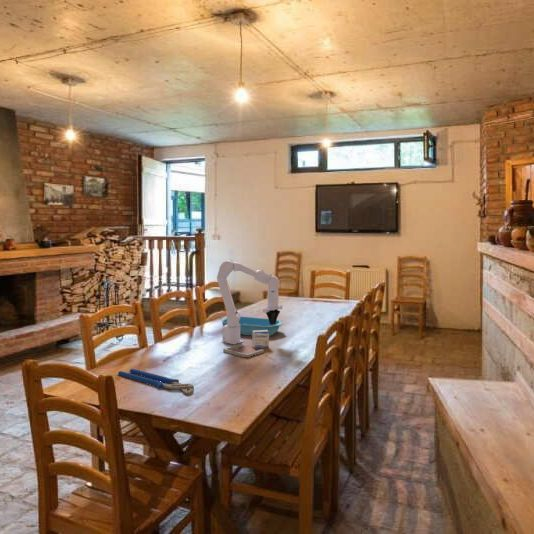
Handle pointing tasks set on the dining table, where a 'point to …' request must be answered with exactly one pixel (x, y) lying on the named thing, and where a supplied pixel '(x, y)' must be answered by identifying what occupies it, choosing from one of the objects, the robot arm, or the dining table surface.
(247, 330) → the casserole dish
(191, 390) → the pliers
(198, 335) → the dining table surface
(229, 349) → the frame
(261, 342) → the medicine box
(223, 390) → the dining table surface
